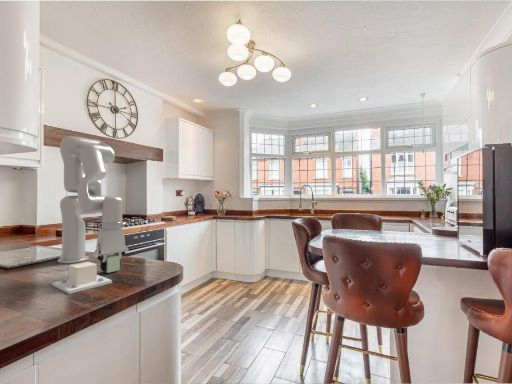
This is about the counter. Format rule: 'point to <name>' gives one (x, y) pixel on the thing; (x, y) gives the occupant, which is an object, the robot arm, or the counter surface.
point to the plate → (73, 288)
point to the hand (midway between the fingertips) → (110, 269)
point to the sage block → (113, 263)
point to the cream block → (82, 273)
